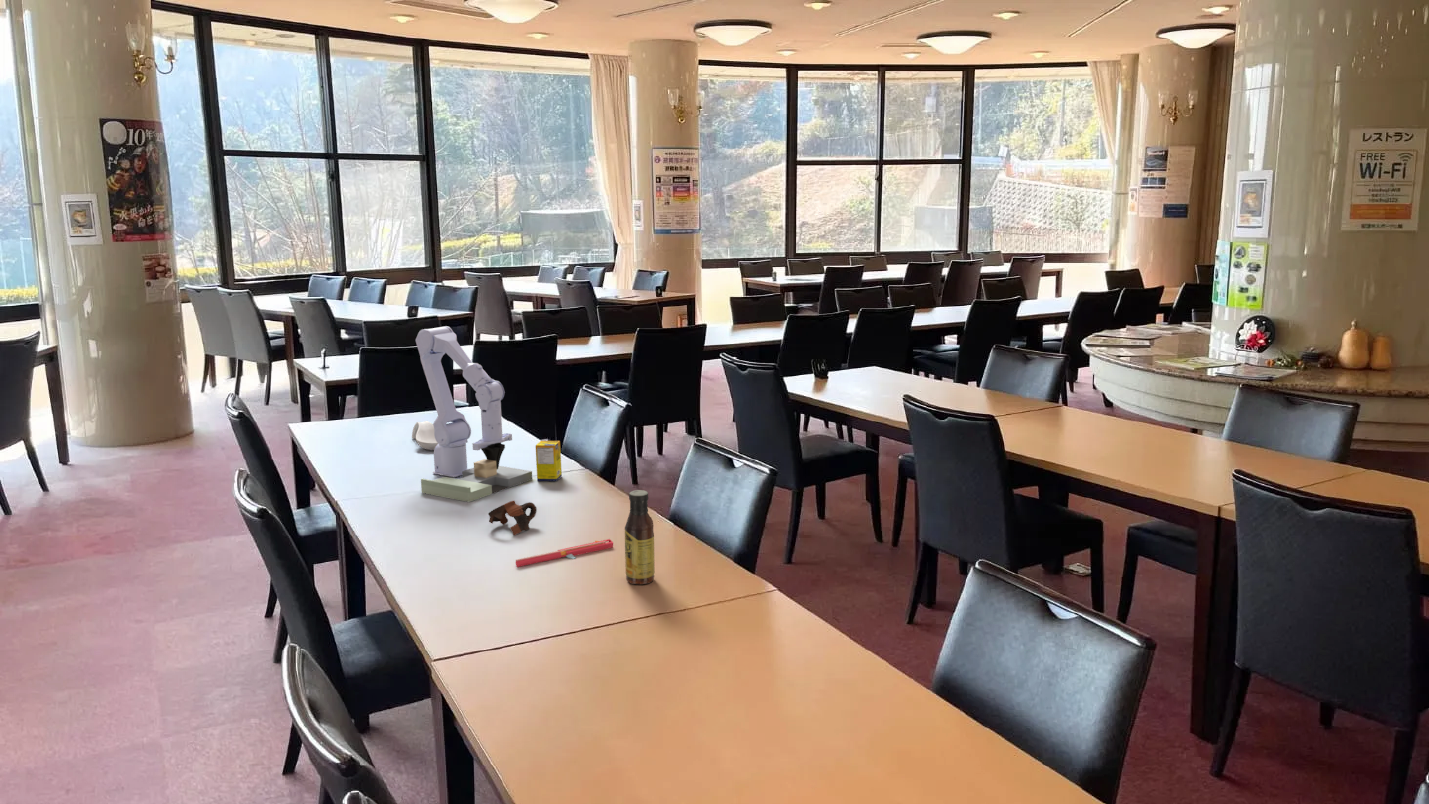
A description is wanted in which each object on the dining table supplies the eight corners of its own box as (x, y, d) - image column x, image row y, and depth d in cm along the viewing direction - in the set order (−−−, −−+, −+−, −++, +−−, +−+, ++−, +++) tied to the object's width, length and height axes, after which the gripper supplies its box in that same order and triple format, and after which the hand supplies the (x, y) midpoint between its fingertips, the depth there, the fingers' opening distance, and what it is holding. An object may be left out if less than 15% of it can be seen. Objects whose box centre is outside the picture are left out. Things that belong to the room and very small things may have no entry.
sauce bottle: (625, 575, 220) (623, 487, 216) (654, 574, 221) (652, 486, 217) (625, 587, 214) (623, 496, 210) (655, 586, 214) (653, 495, 211)
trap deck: (421, 492, 285) (420, 479, 284) (486, 471, 307) (485, 458, 306) (469, 502, 276) (468, 487, 275) (532, 479, 298) (531, 466, 297)
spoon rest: (458, 449, 335) (457, 428, 334) (423, 454, 329) (422, 433, 327) (434, 436, 354) (432, 416, 353) (400, 441, 348) (399, 420, 347)
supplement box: (562, 476, 301) (560, 440, 299) (556, 481, 295) (555, 445, 293) (542, 476, 301) (540, 440, 299) (536, 481, 295) (535, 445, 293)
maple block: (474, 475, 292) (473, 462, 292) (485, 472, 296) (484, 459, 295) (486, 477, 290) (485, 464, 289) (496, 474, 294) (496, 460, 293)
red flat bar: (616, 553, 238) (607, 542, 241) (617, 546, 237) (608, 535, 240) (519, 574, 225) (511, 562, 228) (520, 567, 224) (512, 555, 227)
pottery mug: (504, 540, 246) (489, 510, 246) (495, 546, 254) (480, 517, 254) (547, 519, 252) (532, 489, 252) (537, 526, 260) (522, 497, 260)
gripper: (484, 430, 285) (487, 476, 288) (519, 420, 298) (521, 465, 300) (466, 427, 289) (468, 473, 292) (500, 417, 301) (503, 462, 304)
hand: (494, 469), depth 296 cm, fingers closed
